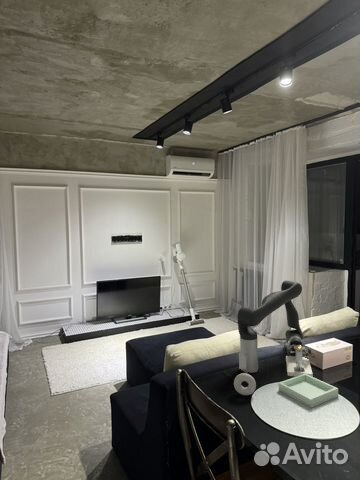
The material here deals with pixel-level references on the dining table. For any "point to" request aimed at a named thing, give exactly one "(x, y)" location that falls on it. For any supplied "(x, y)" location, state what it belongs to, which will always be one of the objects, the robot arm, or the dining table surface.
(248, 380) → the donut
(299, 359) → the pin
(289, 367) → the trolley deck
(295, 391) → the tray
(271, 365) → the dining table surface
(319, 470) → the dining table surface
